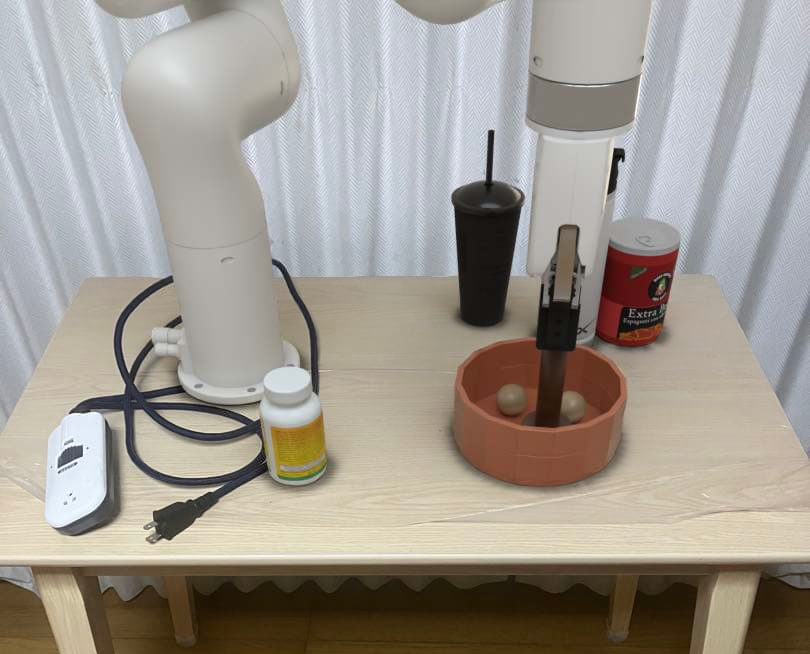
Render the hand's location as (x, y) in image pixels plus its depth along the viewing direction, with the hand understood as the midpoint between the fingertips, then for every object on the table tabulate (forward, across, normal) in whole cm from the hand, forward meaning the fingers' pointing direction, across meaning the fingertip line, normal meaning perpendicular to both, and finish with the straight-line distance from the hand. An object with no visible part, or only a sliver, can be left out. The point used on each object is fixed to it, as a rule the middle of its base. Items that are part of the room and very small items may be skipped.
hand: (556, 338), depth 71 cm
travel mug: (+12, -21, +2) cm, 24 cm away
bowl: (+12, -3, -1) cm, 12 cm away
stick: (+10, 0, 0) cm, 10 cm away
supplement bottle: (+12, +5, -22) cm, 26 cm away
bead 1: (+10, -5, -3) cm, 12 cm away
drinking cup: (+12, -25, -8) cm, 29 cm away
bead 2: (+10, -5, +2) cm, 11 cm away
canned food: (+12, -24, +8) cm, 28 cm away
